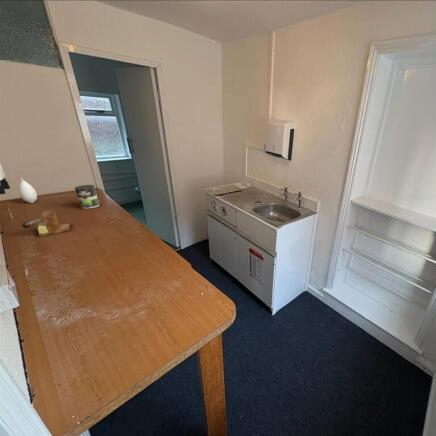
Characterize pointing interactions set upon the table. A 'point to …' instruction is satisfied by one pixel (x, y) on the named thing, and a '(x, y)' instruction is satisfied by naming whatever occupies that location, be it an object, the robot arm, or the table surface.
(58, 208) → the table surface
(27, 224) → the ball knob on post
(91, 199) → the coffee can
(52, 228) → the wooden toy catapult
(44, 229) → the butter
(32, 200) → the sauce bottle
